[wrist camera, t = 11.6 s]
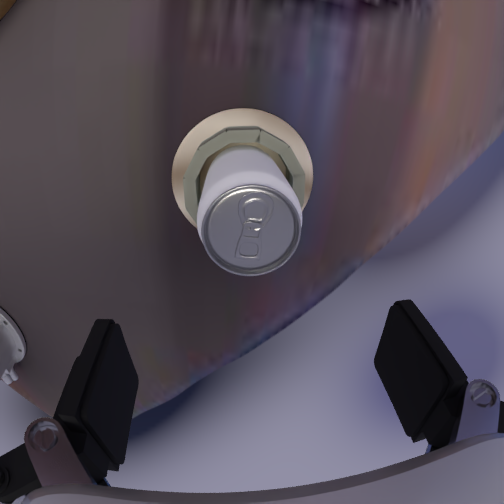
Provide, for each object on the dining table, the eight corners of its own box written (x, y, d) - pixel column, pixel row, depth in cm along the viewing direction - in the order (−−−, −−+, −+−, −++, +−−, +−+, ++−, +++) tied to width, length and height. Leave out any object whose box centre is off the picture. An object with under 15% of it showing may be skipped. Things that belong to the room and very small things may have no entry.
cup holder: (307, 236, 33) (317, 258, 29) (180, 242, 32) (173, 264, 28) (312, 108, 26) (326, 111, 22) (168, 112, 26) (158, 115, 22)
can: (284, 149, 27) (320, 187, 17) (271, 216, 30) (294, 287, 20) (212, 139, 26) (199, 169, 16) (203, 207, 29) (189, 276, 19)
